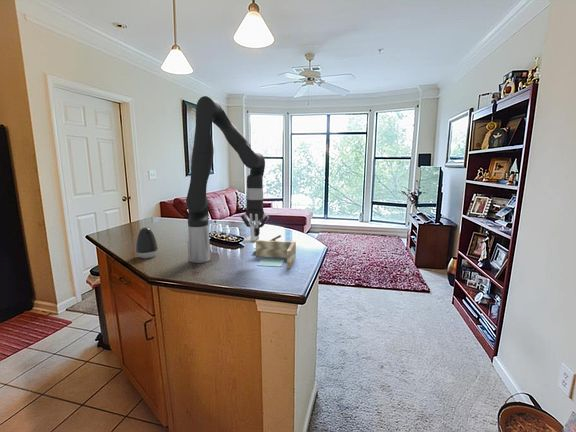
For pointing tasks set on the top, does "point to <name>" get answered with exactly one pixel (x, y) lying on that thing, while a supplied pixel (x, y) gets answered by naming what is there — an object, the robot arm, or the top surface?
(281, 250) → the arena
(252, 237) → the bracket
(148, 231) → the dark gray tapered dome
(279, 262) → the pad
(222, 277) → the top surface
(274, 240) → the wall
